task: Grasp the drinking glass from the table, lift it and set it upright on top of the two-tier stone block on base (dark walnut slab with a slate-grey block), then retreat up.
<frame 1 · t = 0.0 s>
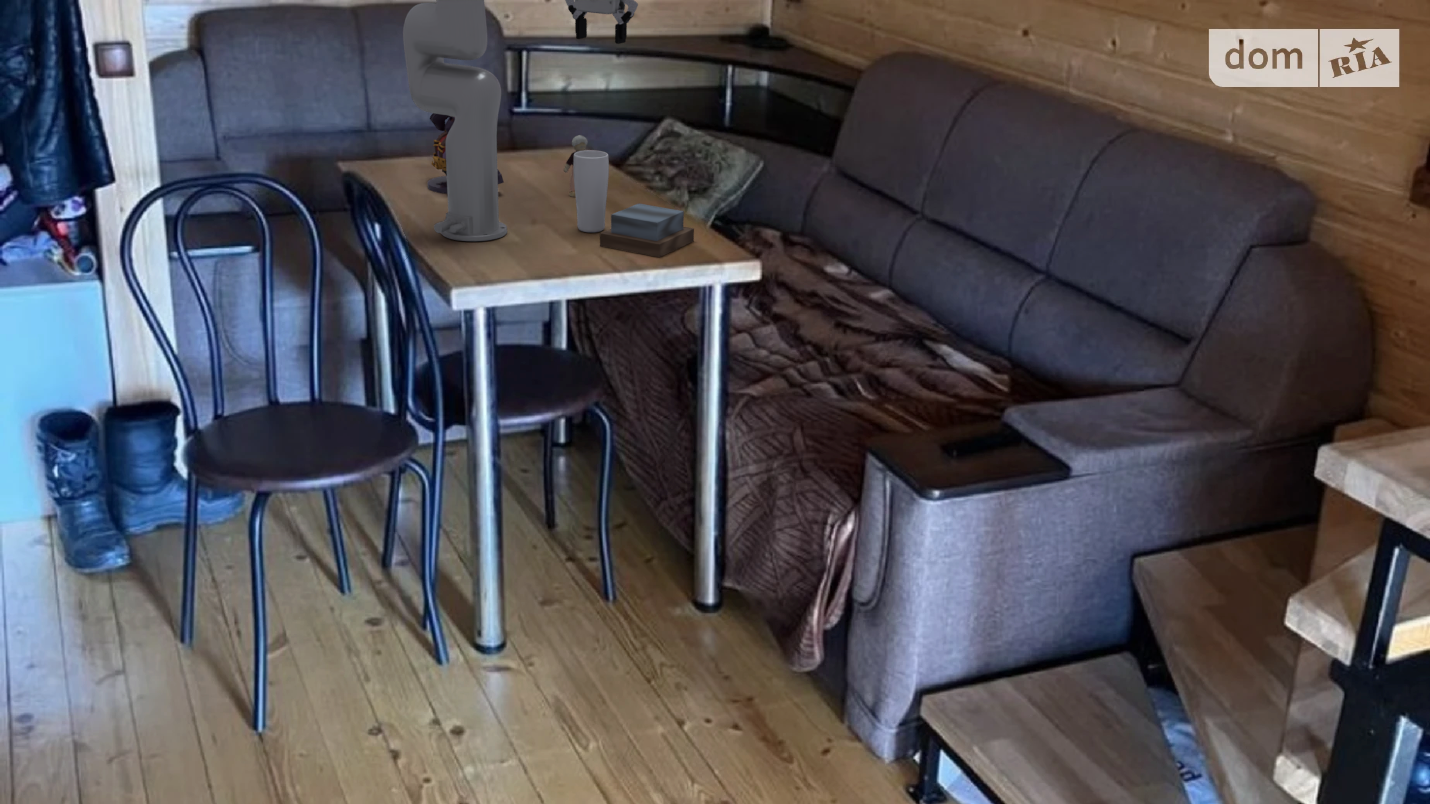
hand: (600, 40, 301), 31 cm above the table, tool pointing down, fingers open, 9 cm apart
stone block on base: (647, 243, 274), on the table
grandmother figurine: (580, 195, 307), on the table
drinking glass: (591, 230, 281), on the table
figurine: (460, 188, 309), on the table
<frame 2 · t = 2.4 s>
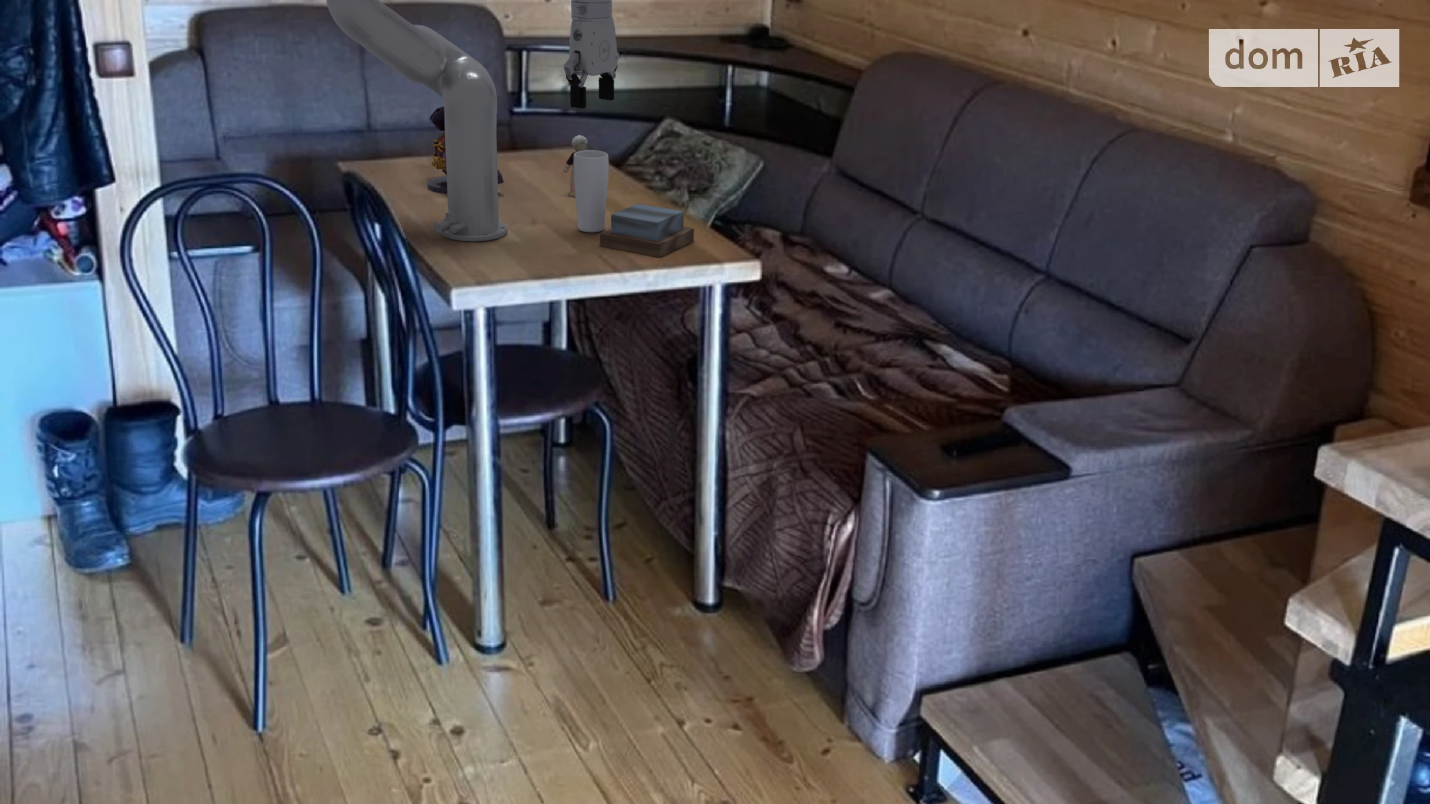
hand: (592, 103, 272), 25 cm above the table, tool pointing down, fingers open, 9 cm apart
nothing on the table moved.
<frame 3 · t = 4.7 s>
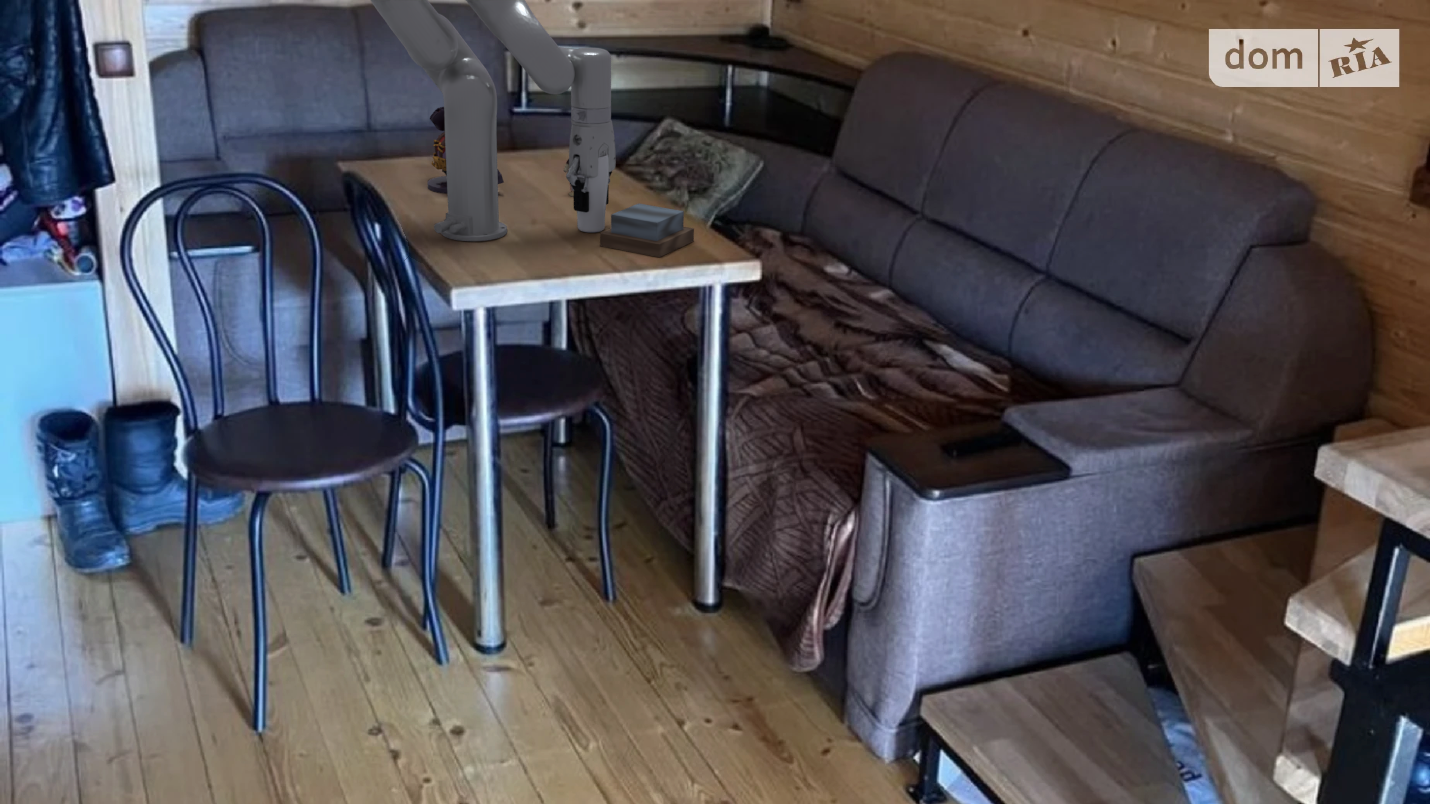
hand: (591, 206, 280), 5 cm above the table, tool pointing down, fingers closed on drinking glass, 6 cm apart
drinking glass: (591, 230, 281), on the table, touching gripper
everything else where it was.
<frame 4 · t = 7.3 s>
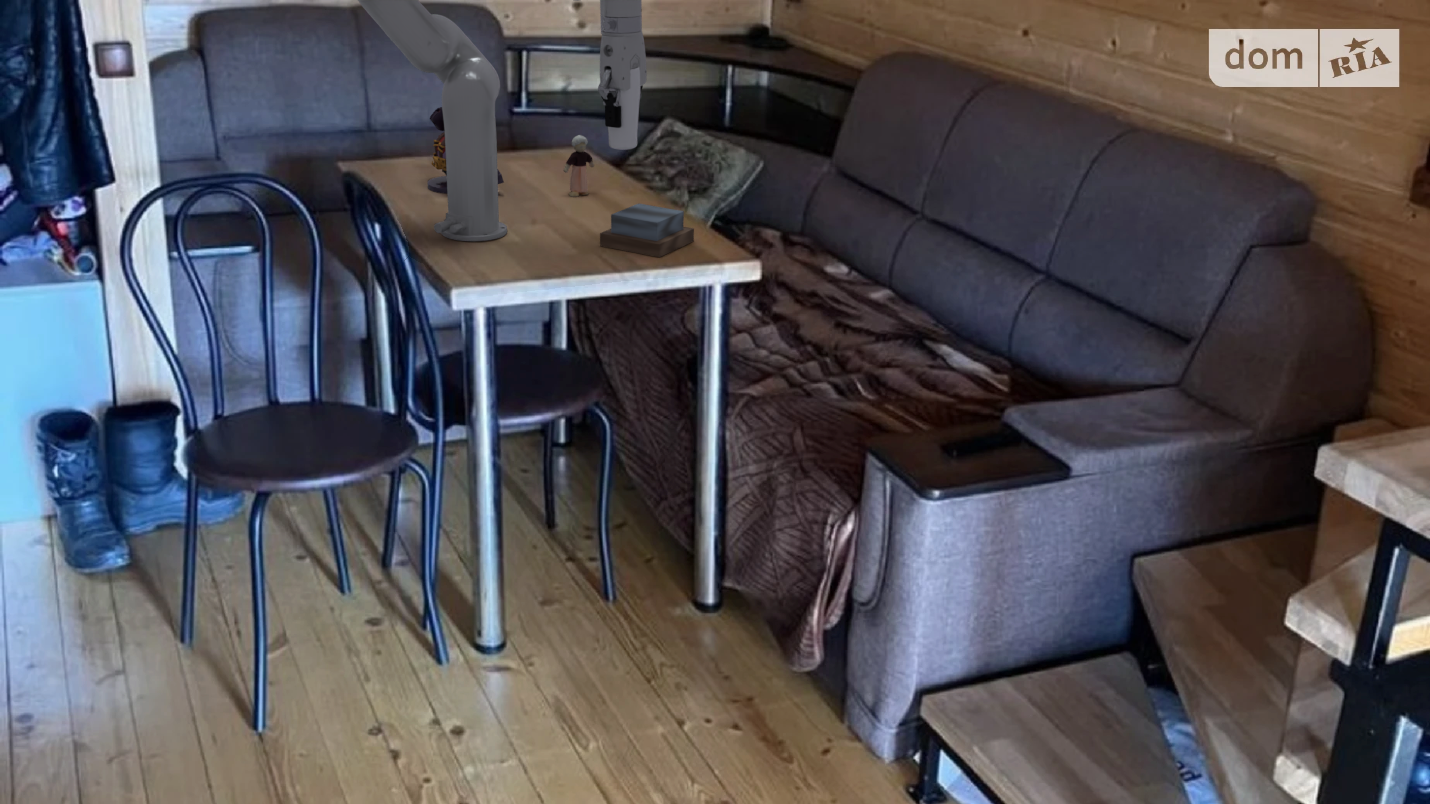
hand: (622, 122, 269), 22 cm above the table, tool pointing down, fingers closed on drinking glass, 6 cm apart
drinking glass: (623, 148, 271), point 17 cm above the table, touching gripper
everything else where it was.
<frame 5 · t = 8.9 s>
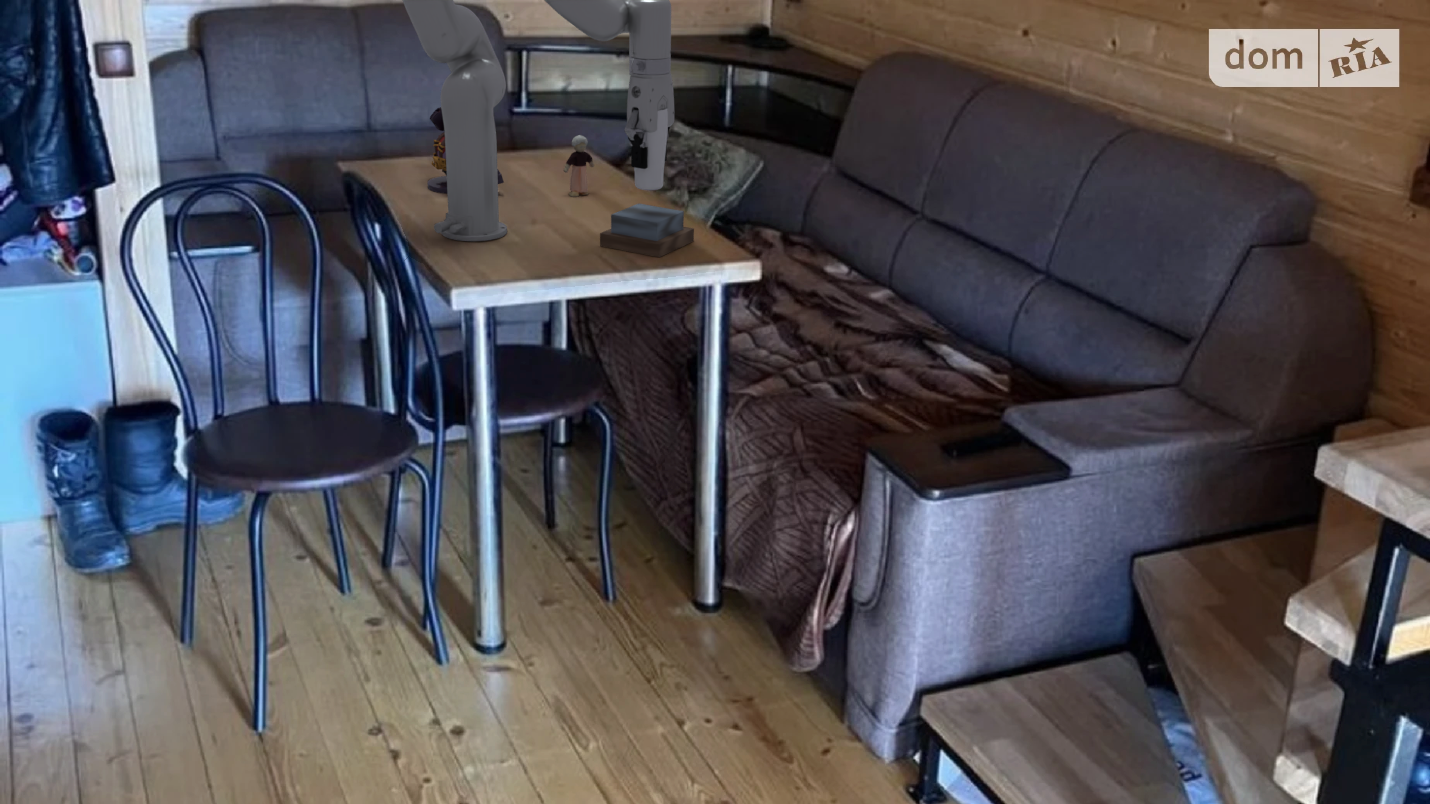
hand: (649, 163, 268), 15 cm above the table, tool pointing down, fingers closed on drinking glass, 6 cm apart
drinking glass: (648, 188, 270), point 11 cm above the table, touching gripper
everything else where it was.
when the fingers open (11 cm above the table, at t = 10.1 s): drinking glass stays where it is, resting on stone block on base.
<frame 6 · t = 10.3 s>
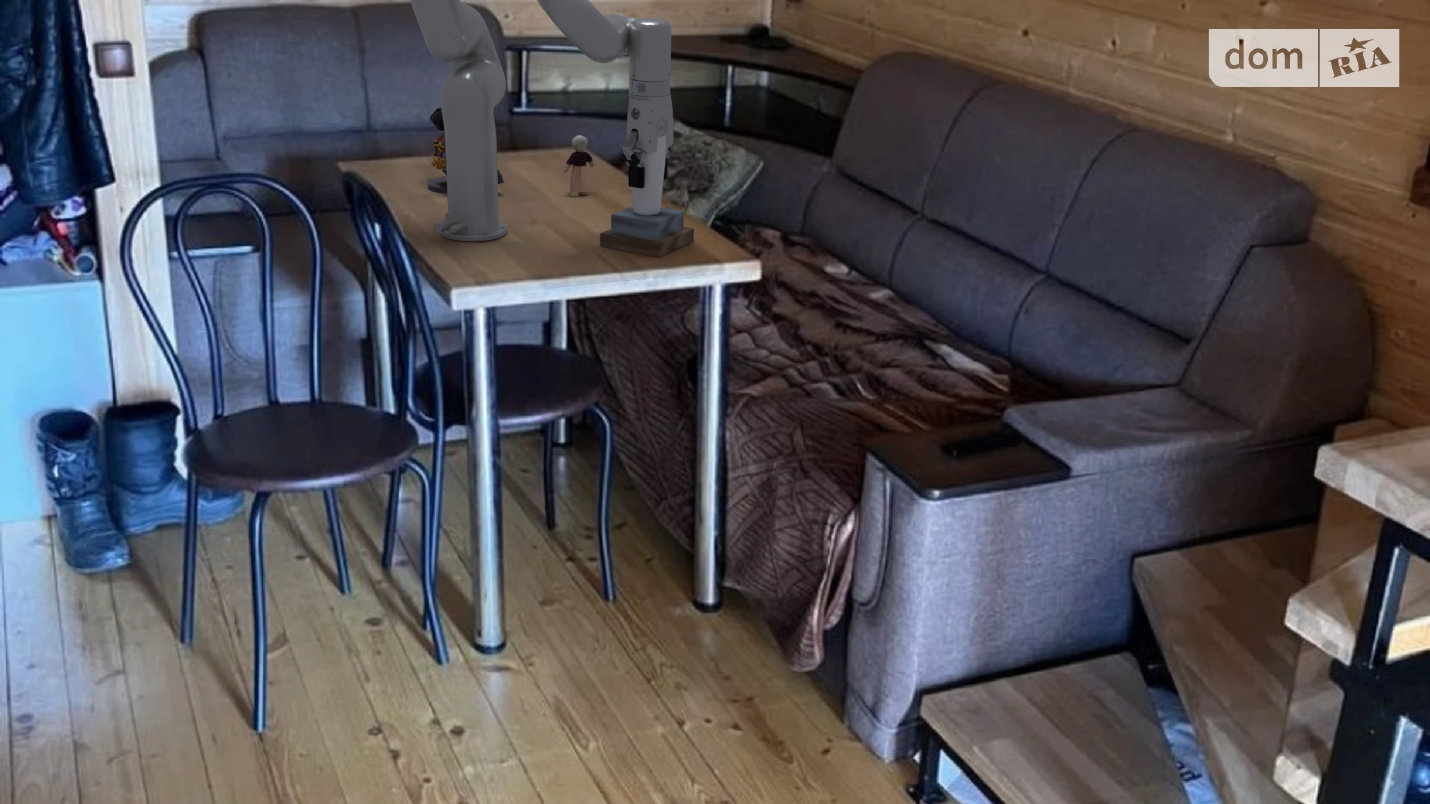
hand: (648, 182, 269), 12 cm above the table, tool pointing down, fingers open, 7 cm apart
drinking glass: (646, 213, 272), point 6 cm above the table, touching stone block on base
everything else where it was.
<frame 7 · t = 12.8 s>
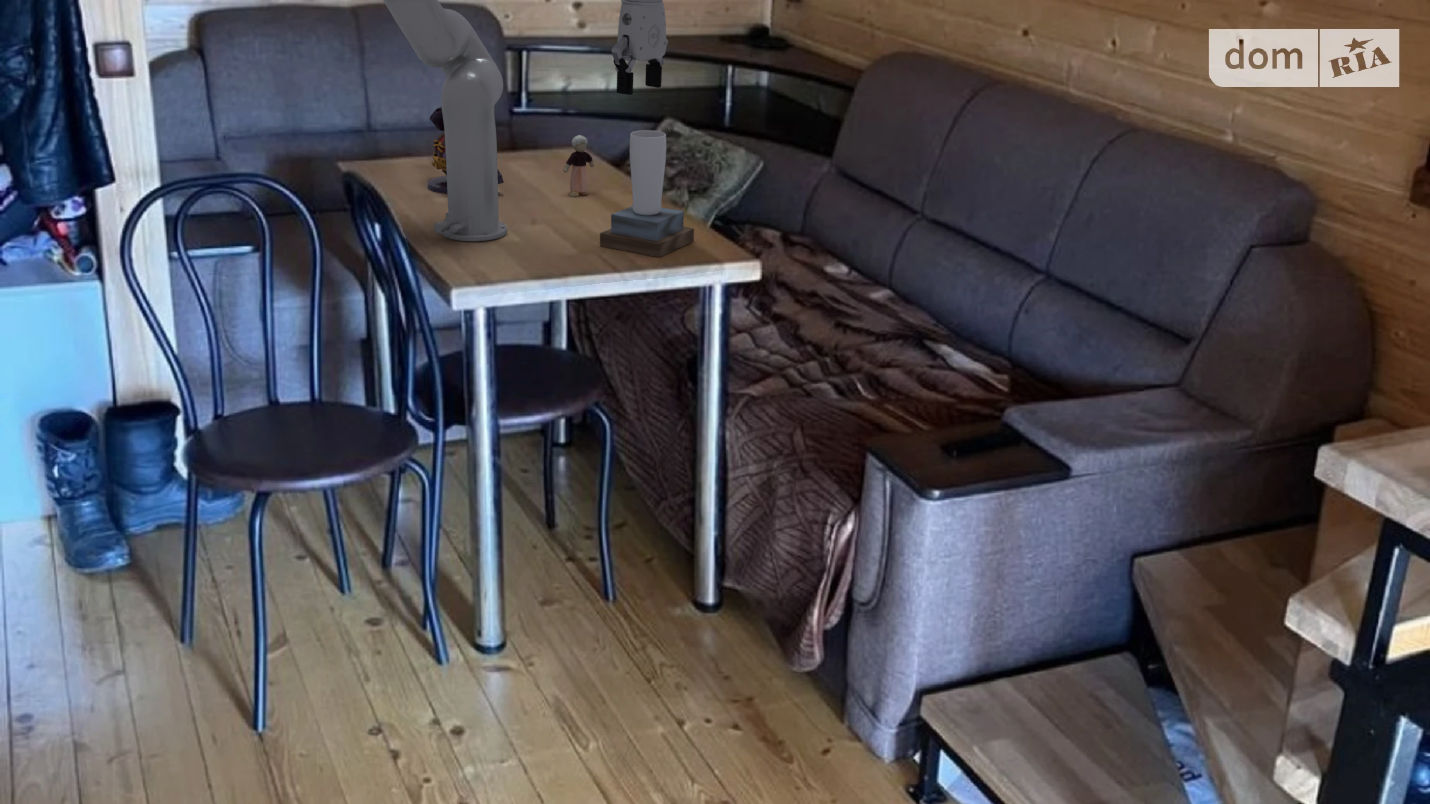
hand: (639, 90, 265), 29 cm above the table, tool pointing down, fingers open, 9 cm apart
nothing on the table moved.
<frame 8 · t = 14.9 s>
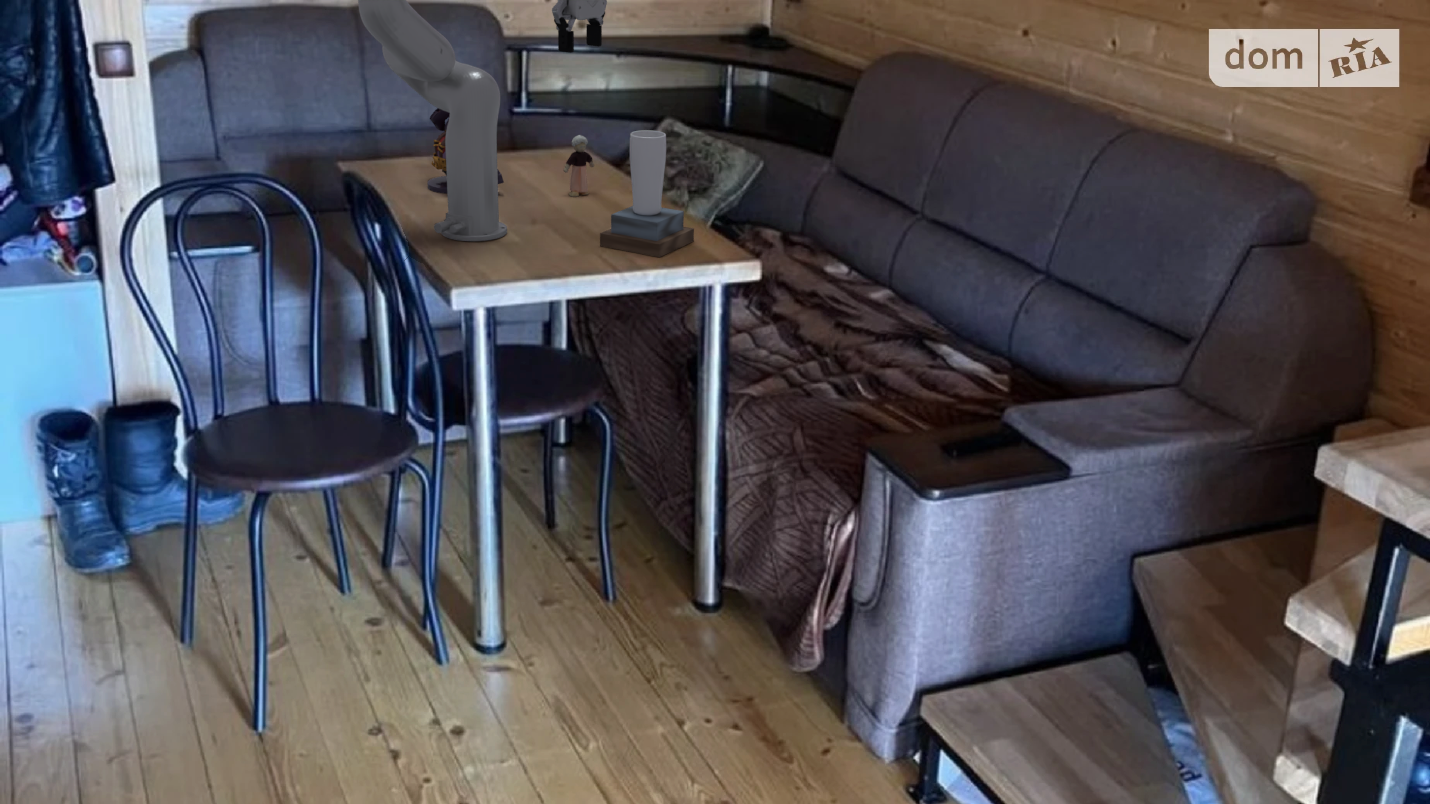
hand: (580, 48, 277), 33 cm above the table, tool pointing down, fingers open, 9 cm apart
nothing on the table moved.
at the end: drinking glass 0.2 cm off-centre on the stone block on base, point 5.8 cm above the stone block on base's base; drinking glass tilted 0°; the gripper is holding nothing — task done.
